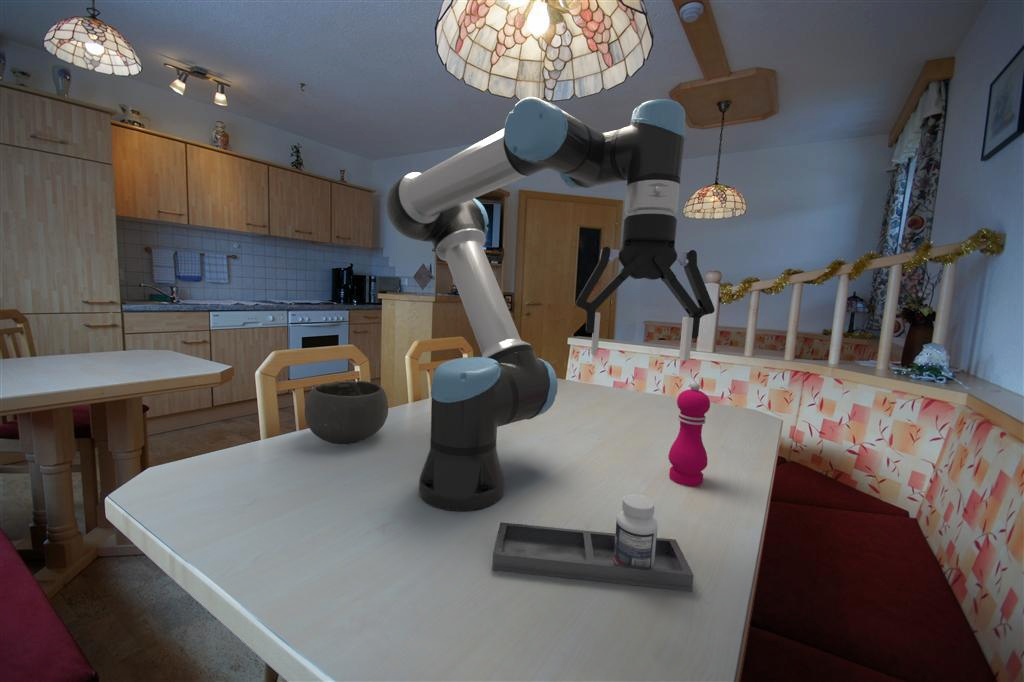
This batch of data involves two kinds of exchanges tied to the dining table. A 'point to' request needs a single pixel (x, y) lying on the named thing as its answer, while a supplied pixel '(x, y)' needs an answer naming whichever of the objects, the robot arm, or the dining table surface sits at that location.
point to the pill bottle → (636, 532)
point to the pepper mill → (689, 438)
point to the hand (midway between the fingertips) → (638, 357)
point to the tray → (585, 557)
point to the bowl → (346, 411)
